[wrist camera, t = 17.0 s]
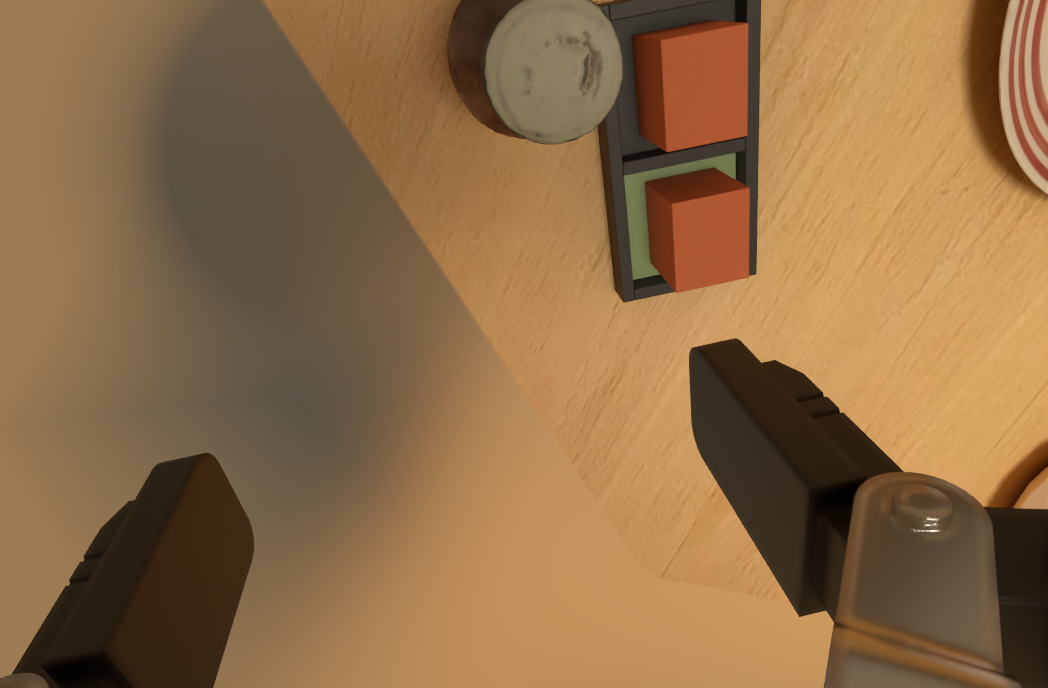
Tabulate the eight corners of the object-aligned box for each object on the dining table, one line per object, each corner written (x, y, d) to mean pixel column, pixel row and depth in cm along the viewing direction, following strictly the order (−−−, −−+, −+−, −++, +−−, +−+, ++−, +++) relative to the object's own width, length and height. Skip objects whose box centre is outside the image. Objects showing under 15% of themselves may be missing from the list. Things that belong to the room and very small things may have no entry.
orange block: (650, 262, 42) (676, 293, 37) (644, 181, 39) (671, 203, 35) (715, 249, 42) (749, 277, 38) (714, 166, 39) (750, 187, 35)
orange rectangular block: (638, 135, 38) (666, 152, 34) (631, 35, 35) (660, 40, 31) (711, 120, 38) (748, 136, 34) (709, 19, 35) (749, 22, 31)
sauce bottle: (579, 25, 35) (727, 48, 18) (518, 124, 37) (597, 230, 20) (480, -53, 33) (539, -114, 15) (420, 57, 35) (413, 112, 18)
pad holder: (615, 290, 43) (623, 303, 41) (585, 6, 35) (594, 7, 33) (742, 263, 44) (756, 274, 42) (744, -25, 35) (761, -26, 33)
